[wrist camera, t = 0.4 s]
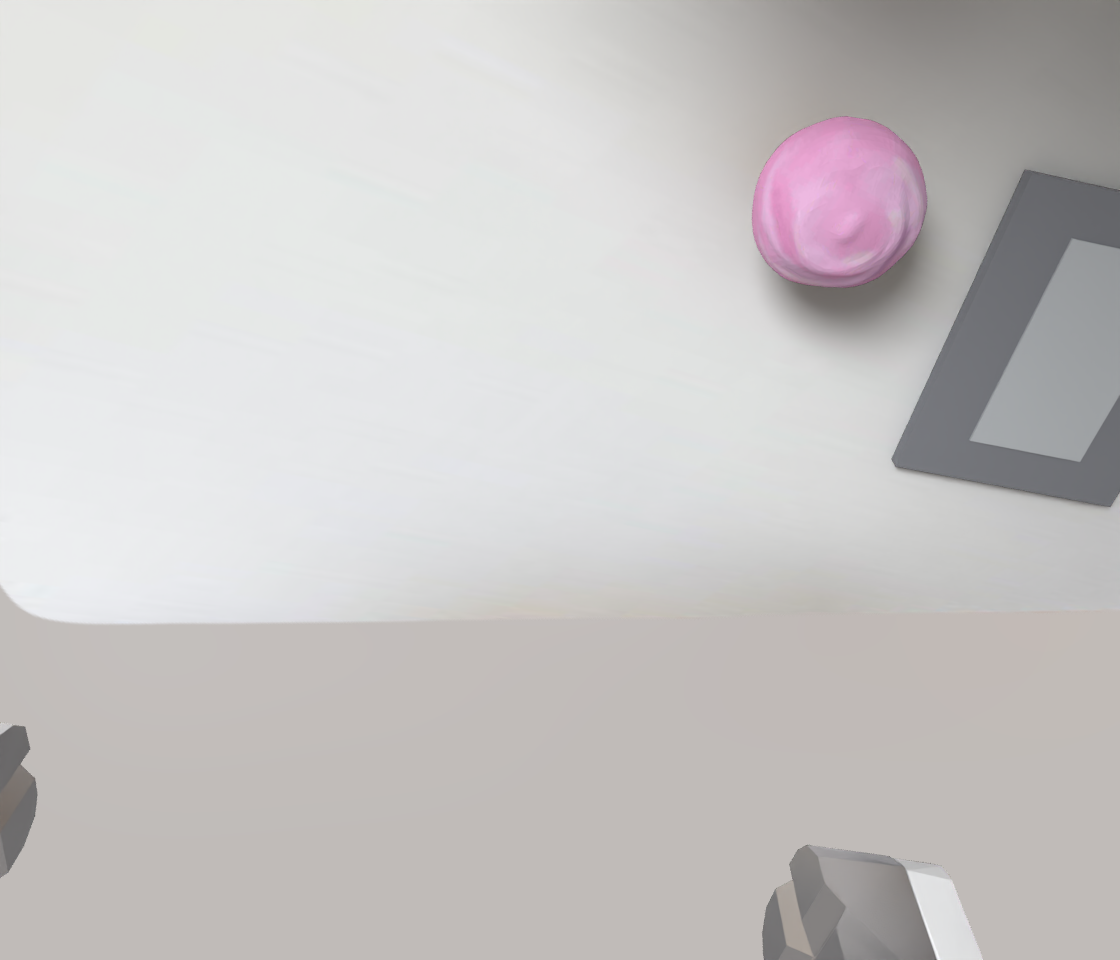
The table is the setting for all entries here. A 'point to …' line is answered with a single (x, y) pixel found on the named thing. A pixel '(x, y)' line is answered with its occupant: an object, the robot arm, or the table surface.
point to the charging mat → (1033, 354)
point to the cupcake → (838, 203)
